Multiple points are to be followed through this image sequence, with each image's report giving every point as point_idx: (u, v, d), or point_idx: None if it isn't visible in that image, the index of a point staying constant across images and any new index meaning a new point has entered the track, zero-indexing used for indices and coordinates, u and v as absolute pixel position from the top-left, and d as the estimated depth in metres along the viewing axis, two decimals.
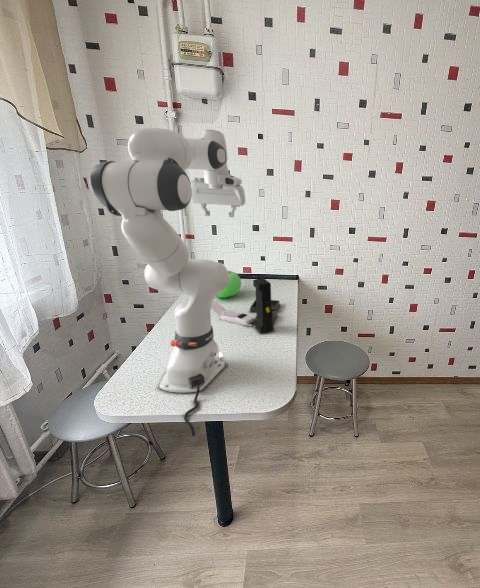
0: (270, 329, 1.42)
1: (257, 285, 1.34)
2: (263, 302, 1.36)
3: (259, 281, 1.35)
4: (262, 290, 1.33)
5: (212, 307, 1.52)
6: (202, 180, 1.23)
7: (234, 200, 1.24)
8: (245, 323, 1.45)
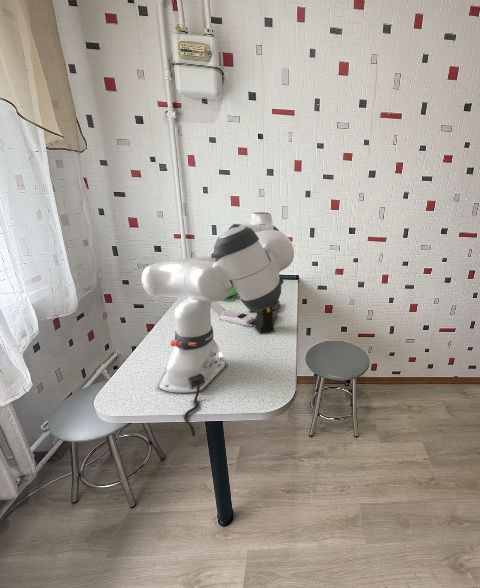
0: (270, 329, 1.42)
1: None
2: None
3: None
4: None
5: (212, 307, 1.52)
6: None
7: None
8: (245, 323, 1.45)
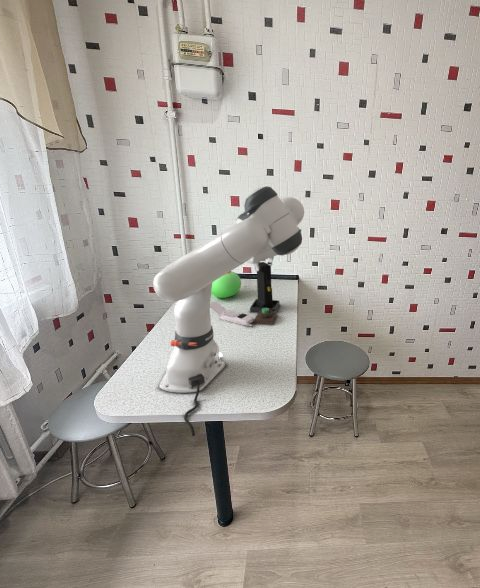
0: (271, 306, 1.63)
1: None
2: (265, 282, 1.56)
3: (260, 264, 1.55)
4: (264, 271, 1.54)
5: (212, 307, 1.52)
6: None
7: None
8: (245, 323, 1.45)
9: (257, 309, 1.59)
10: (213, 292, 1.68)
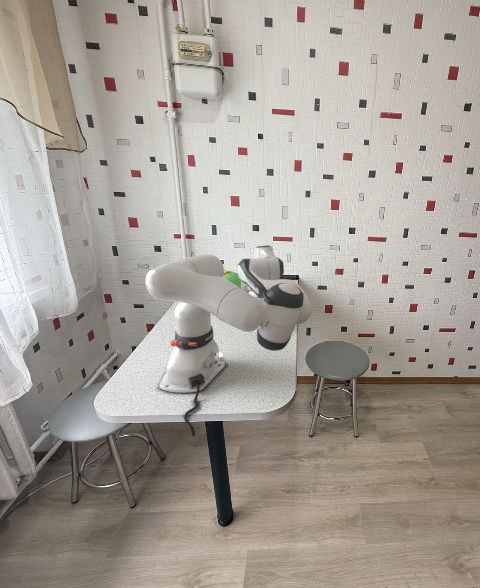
0: None
1: None
2: None
3: None
4: None
5: None
6: None
7: None
8: None
9: None
10: None
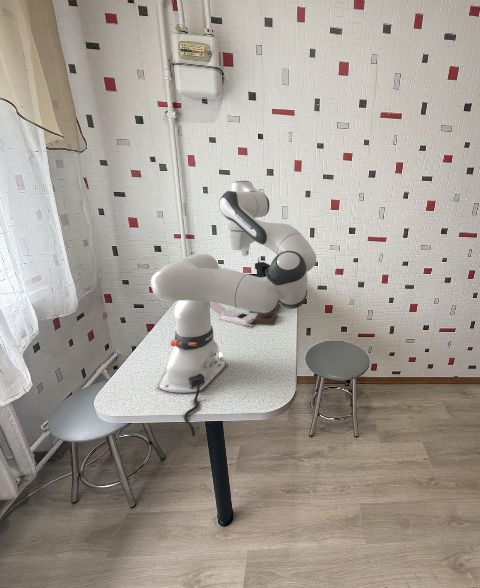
0: None
1: (259, 267, 1.54)
2: None
3: (260, 264, 1.55)
4: (264, 271, 1.54)
5: (212, 307, 1.52)
6: None
7: None
8: (245, 323, 1.45)
9: None
10: None
